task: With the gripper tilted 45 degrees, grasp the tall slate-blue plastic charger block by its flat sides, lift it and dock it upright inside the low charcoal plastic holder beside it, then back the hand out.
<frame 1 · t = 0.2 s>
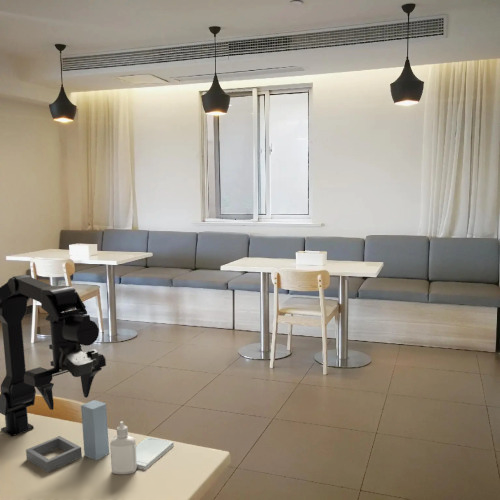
hand: (69, 403, 126), 15 cm above the table, tool pointing down, fingers open, 9 cm apart
eye dropper bottle: (124, 471, 122), on the table
holder: (54, 458, 129), on the table
charger block: (96, 454, 130), on the table
hard drive: (146, 457, 129), on the table
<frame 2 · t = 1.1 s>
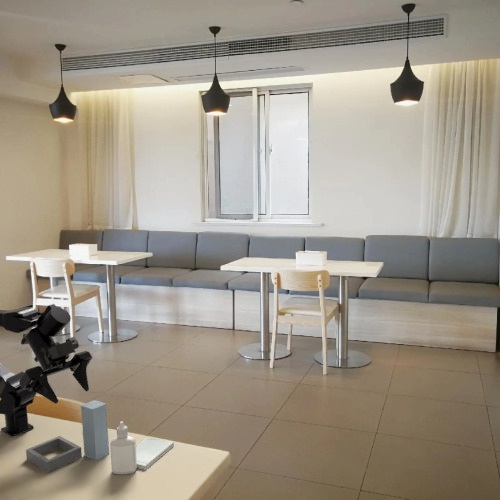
hand: (72, 396, 133), 13 cm above the table, tool tilted 45°, fingers open, 9 cm apart
nothing on the table moved.
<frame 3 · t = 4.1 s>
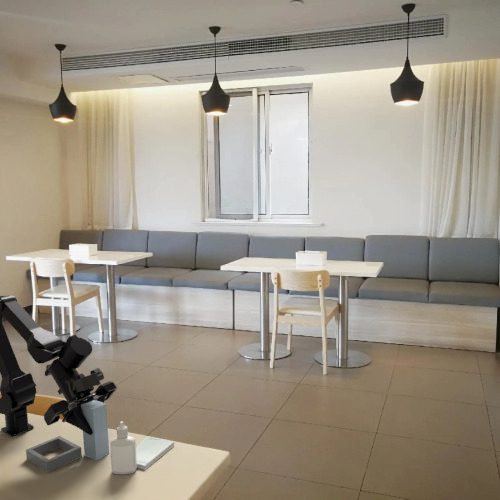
hand: (98, 430, 128), 7 cm above the table, tool tilted 45°, fingers closed on charger block, 4 cm apart
charger block: (96, 454, 130), on the table, touching gripper
everything else where it was.
when the fingers open (8 cm above the table, at t = 8.1 s): charger block drops 1 cm, resting in holder.
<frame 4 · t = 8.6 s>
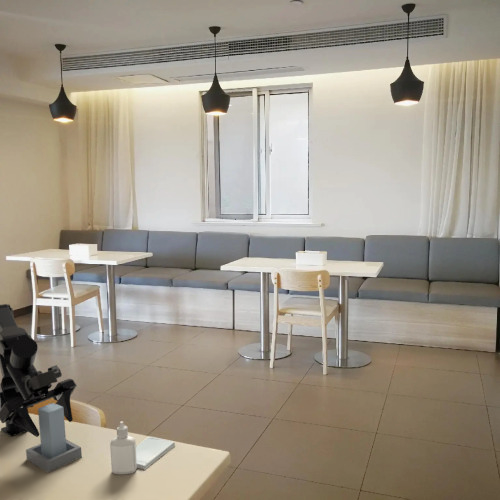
hand: (55, 428, 127), 8 cm above the table, tool tilted 45°, fingers open, 9 cm apart
charger block: (54, 458, 129), resting in holder
everything else where it was.
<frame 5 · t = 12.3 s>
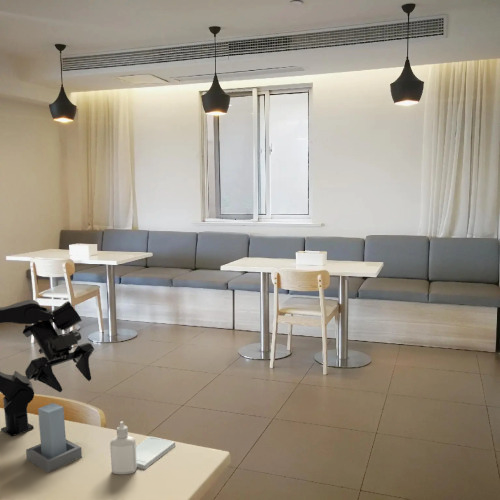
hand: (76, 385, 140), 14 cm above the table, tool tilted 45°, fingers open, 9 cm apart
nothing on the table moved.
at the end: charger block 0.1 cm off-centre on the holder, point 0.0 cm above the holder's base; charger block tilted 0°; the gripper is holding nothing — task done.
